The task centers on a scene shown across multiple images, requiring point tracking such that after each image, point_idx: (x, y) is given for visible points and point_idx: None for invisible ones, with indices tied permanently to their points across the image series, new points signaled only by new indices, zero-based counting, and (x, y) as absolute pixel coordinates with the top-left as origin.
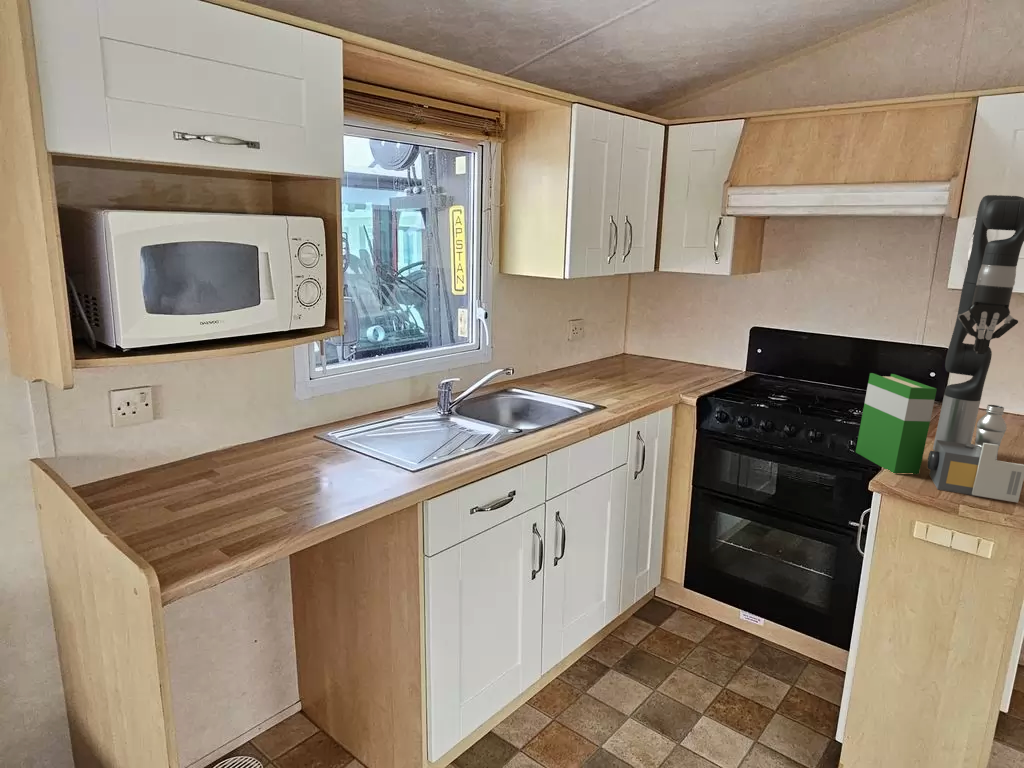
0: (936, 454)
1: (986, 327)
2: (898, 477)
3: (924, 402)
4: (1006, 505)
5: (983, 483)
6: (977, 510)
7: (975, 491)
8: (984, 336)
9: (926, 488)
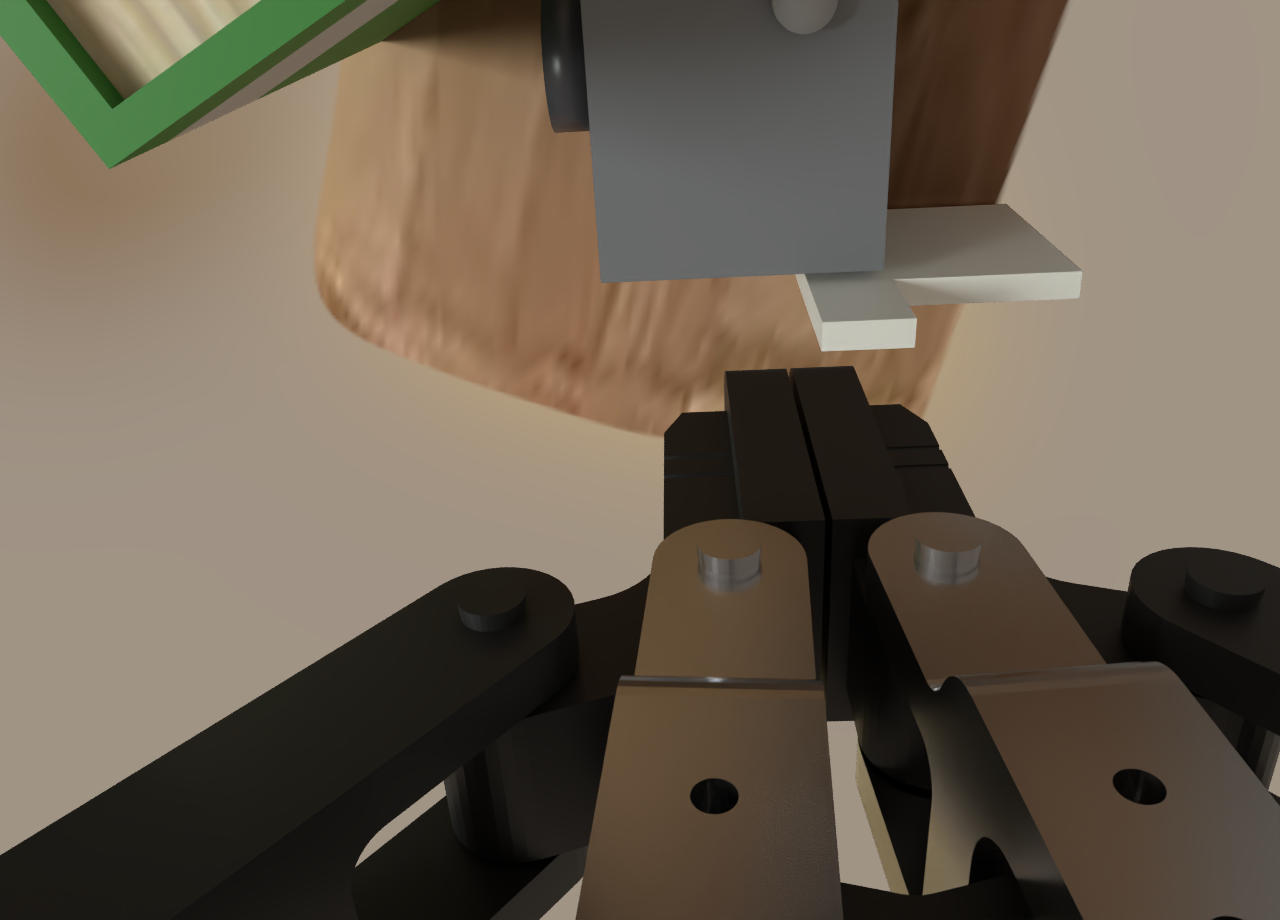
0: (575, 106)
1: (956, 807)
2: (410, 107)
3: (333, 26)
4: None
5: None
6: None
7: None
8: (863, 673)
9: (556, 230)
